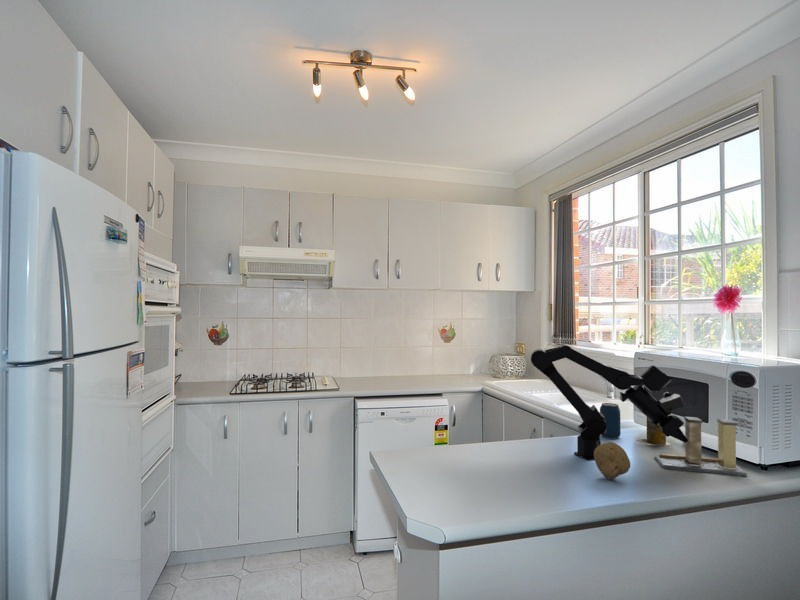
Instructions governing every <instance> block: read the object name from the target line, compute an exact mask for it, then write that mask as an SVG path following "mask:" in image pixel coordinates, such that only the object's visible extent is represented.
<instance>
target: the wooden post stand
mask: <svg viewBox="0 0 800 600" xmlns="http://www.w3.org/2000/svg"><path fill="white" fill-rule="evenodd" d="M716 422H717V441H718V442H717V449H718V451H717V454H718V455H717V458H712V457H702V456H701V459H702V464H698V463H690V462H689V461H688V460H686V457H685V455H679V454H669V453H668V454H666V453H658V454H654V455H653V456H654V459H655V461H656V462H657V463H658V464H659V465H660V466H661V467H662V469H666V470H667V469H668V470H679V471H685V472H698V473H707V472H708V473H707V474H719V475H720V474H721V475H727V474H729V476H737V475H740V476H739V477H748V474H747V473H748V472H746V471H745V470H744V469H742V468H741V467H740V466H738V465H737V451H736V449H737V448H736V445H737V444H736V437H737V436H736V435H737V433H736V426H738V424H737V422H735V421H733V420H732V419H727V418H716Z"/></svg>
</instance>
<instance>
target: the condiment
mask: <svg viewBox="0 0 800 600" xmlns="http://www.w3.org/2000/svg"><path fill="white" fill-rule="evenodd" d="M658 426H659V425H658V424H657V425H655V424H652V423H651V422H650V421H649V420H648V419H647V418H646V438H643V439H641V438H636V440H637V441H639V442H641V443H643V444H644V445H648V446H671V445H672V444H671V443H669V442H667V436H666V435H665V434H664V433H663V432H661V431H660V430H659V429H658Z"/></svg>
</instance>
